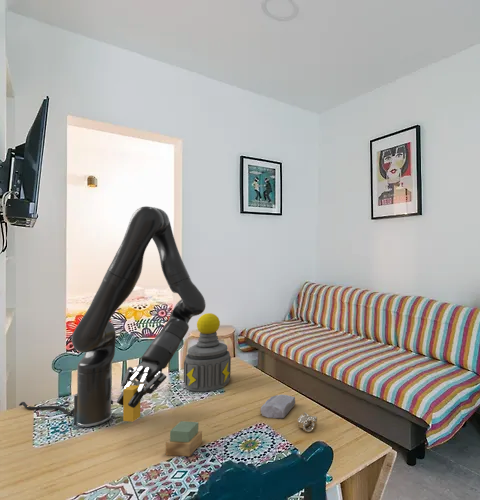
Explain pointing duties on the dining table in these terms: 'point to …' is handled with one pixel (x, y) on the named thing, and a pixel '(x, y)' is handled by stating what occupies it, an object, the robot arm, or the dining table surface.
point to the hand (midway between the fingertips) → (125, 404)
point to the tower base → (184, 446)
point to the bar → (128, 411)
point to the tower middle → (184, 431)
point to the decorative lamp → (207, 358)
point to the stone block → (277, 406)
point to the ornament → (306, 422)
